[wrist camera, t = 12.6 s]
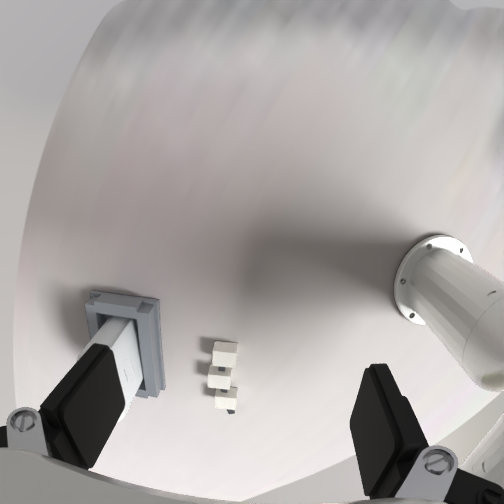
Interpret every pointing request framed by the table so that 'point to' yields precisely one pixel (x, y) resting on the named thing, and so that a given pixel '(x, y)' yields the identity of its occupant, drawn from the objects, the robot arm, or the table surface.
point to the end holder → (147, 330)
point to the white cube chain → (223, 375)
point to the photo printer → (122, 354)
